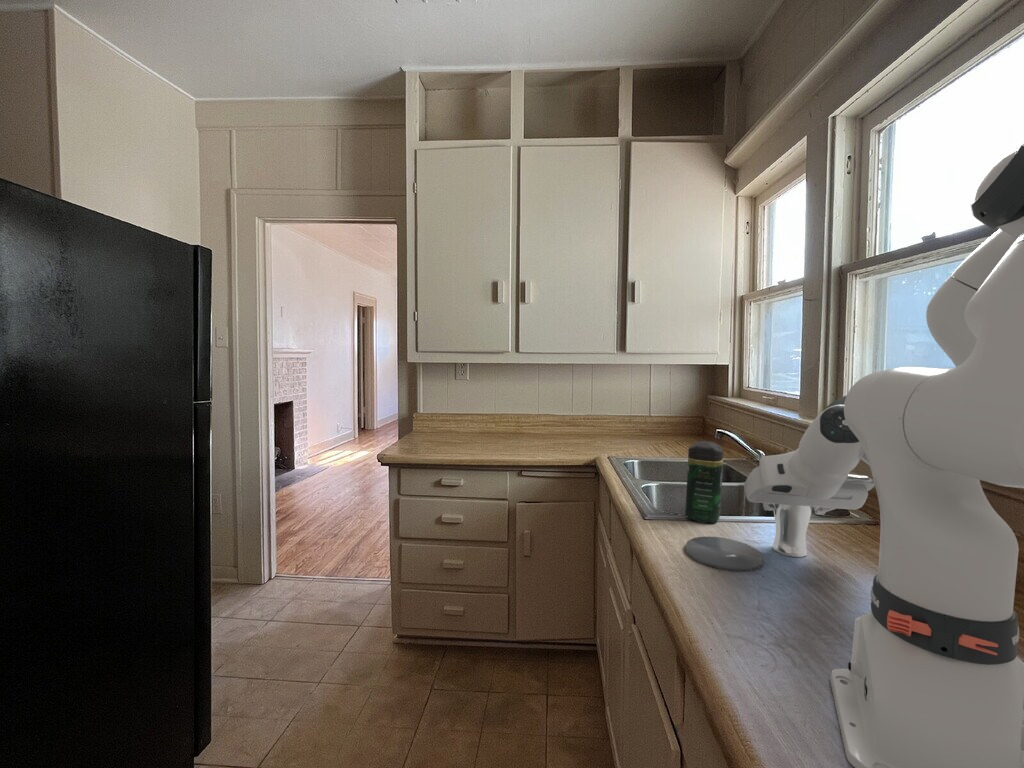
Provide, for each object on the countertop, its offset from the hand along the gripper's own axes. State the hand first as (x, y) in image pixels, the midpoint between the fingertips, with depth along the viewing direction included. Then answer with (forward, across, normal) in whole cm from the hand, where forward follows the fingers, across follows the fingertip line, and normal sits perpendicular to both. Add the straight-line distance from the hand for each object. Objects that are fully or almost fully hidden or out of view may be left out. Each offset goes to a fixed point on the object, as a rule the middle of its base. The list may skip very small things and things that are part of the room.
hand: (792, 509), depth 98 cm
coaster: (+2, +14, +10) cm, 18 cm away
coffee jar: (+18, +14, -5) cm, 24 cm away
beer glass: (+6, 0, +6) cm, 9 cm away
